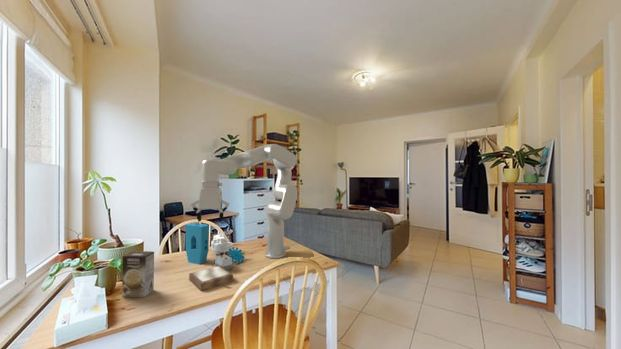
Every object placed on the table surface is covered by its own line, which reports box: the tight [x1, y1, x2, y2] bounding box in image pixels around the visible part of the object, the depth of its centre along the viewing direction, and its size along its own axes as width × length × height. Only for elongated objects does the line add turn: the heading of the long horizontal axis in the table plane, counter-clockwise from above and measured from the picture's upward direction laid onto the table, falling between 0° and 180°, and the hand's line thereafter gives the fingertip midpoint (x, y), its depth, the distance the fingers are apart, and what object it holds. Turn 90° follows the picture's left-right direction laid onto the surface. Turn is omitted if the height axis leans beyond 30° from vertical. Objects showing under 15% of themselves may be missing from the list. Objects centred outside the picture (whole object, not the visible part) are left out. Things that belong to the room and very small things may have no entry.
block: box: [185, 222, 210, 265], centre depth 137 cm, size 12×5×20 cm, turn 69°
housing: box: [214, 253, 233, 272], centre depth 127 cm, size 5×8×6 cm, turn 44°
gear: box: [227, 246, 246, 264], centre depth 139 cm, size 11×6×10 cm
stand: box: [188, 266, 234, 292], centre depth 114 cm, size 14×14×3 cm
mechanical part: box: [211, 233, 234, 255], centre depth 151 cm, size 11×12×12 cm
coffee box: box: [121, 250, 155, 298], centre depth 102 cm, size 9×6×16 cm
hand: (210, 220), depth 122 cm, fingers open, 9 cm apart
